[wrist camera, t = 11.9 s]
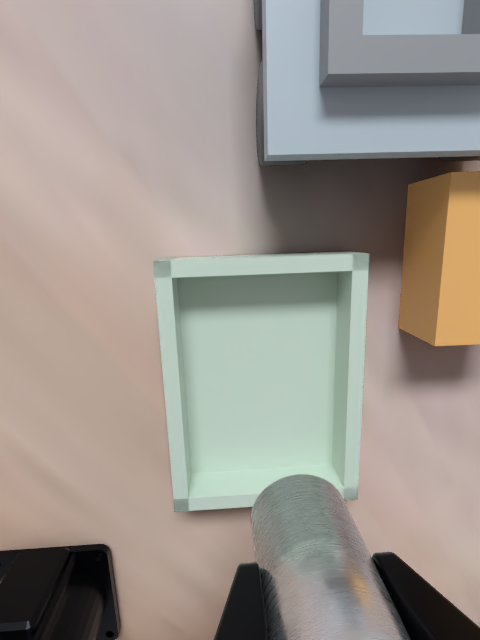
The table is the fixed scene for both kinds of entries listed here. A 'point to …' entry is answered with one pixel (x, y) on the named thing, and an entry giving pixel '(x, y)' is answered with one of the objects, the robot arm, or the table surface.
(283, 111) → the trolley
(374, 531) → the table surface
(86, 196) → the table surface
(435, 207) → the orange rectangular block
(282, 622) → the pin
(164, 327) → the tray
